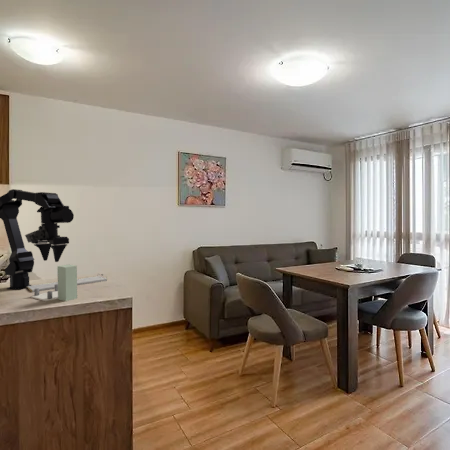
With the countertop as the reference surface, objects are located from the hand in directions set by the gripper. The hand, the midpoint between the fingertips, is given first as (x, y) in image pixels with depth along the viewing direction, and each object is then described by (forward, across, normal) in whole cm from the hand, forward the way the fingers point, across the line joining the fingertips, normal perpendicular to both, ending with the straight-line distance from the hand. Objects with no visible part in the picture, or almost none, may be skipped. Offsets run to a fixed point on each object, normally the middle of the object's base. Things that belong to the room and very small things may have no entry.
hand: (50, 261), depth 125 cm
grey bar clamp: (+13, -9, +12) cm, 20 cm away
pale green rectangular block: (+13, +15, -2) cm, 20 cm away
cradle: (+13, +6, -3) cm, 15 cm away
